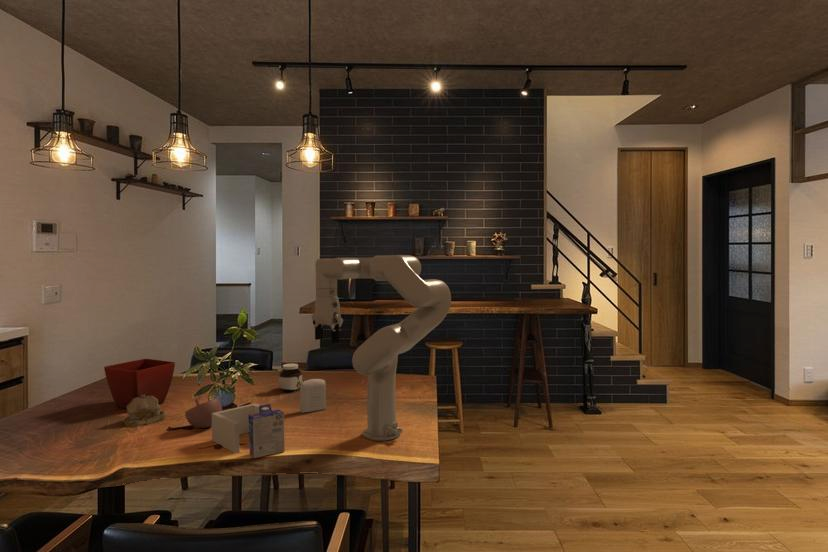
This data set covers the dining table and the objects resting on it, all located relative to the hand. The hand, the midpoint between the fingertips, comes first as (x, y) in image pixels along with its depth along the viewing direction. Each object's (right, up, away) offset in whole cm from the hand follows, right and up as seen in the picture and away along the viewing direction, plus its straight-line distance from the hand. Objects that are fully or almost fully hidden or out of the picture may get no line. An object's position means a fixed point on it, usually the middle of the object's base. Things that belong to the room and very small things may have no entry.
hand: (327, 340), depth 178 cm
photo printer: (-9, -30, +18) cm, 36 cm away
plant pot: (-82, -30, +27) cm, 91 cm away
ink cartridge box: (-14, -32, -25) cm, 43 cm away
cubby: (-24, -31, -14) cm, 42 cm away
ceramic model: (-69, -31, +6) cm, 76 cm away
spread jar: (-26, -29, +50) cm, 64 cm away
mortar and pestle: (-44, -31, -1) cm, 53 cm away
